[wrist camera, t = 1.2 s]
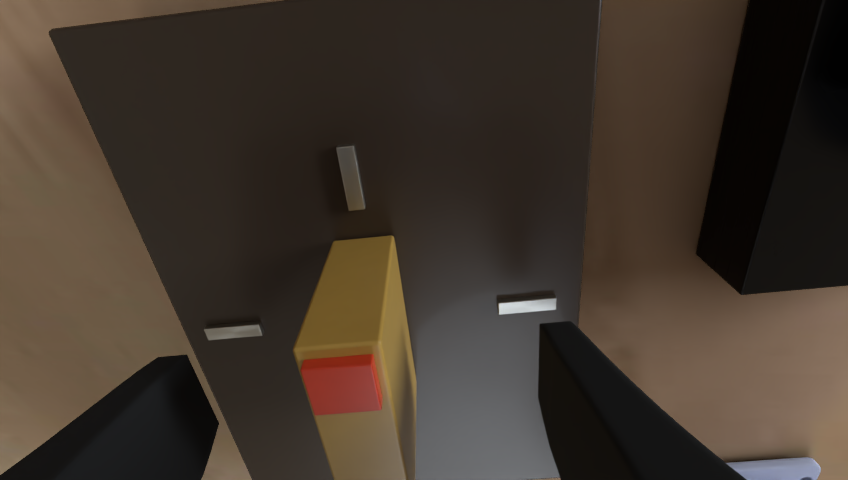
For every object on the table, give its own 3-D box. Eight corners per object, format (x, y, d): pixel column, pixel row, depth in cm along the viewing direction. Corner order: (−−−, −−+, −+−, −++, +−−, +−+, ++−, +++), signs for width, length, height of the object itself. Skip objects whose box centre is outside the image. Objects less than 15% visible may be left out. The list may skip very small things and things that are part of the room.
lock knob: (416, 381, 12) (415, 529, 9) (365, 385, 12) (343, 534, 9) (394, 234, 10) (380, 353, 6) (332, 240, 10) (285, 361, 7)
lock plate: (545, 403, 17) (569, 482, 14) (285, 423, 17) (258, 505, 14) (558, -27, 10) (609, -40, 7) (138, 24, 11) (38, 30, 8)
